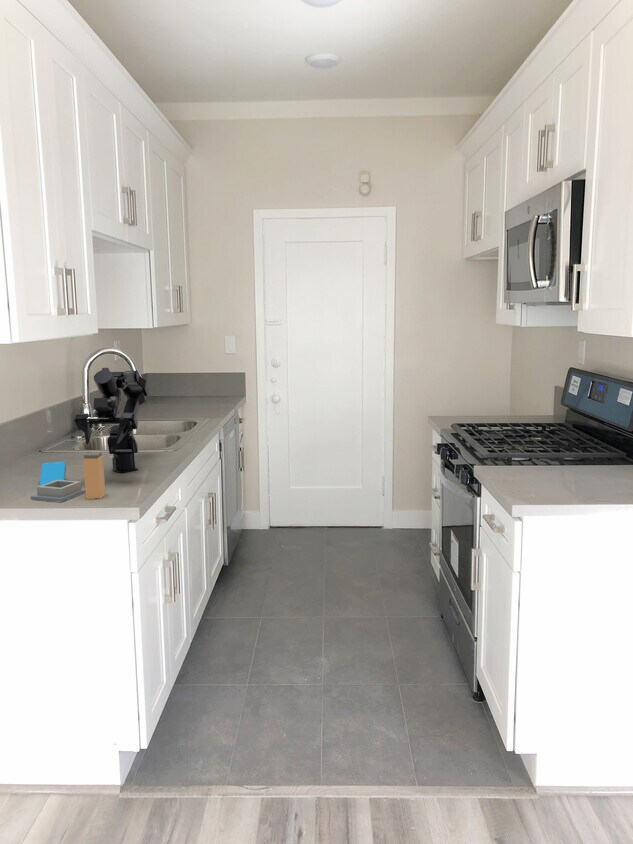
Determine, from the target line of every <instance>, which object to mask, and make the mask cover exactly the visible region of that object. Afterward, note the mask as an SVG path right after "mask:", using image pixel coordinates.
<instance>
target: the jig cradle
mask: <svg viewBox="0 0 633 844" xmlns="http://www.w3.org/2000/svg"><path fill="white" fill-rule="evenodd" d="M84 494H86V491H85V487H82V481H78V480H66V479H65V480H55V481H52V482H49V483H46V484H44V485H41V486H40V485H38V486H36V493H35V494H33V495H30V500H31V499H32V500H31V501H41V500H45V501H44V502H51V501H60V502H59V503H63V502H62V501H64V502H66V501H65V500H67V499H69V500H71V499H70V498H72V499H74V498H76V497H79V496H81V495H84ZM78 495H79V496H78ZM75 496H76V497H75ZM73 497H74V498H73ZM67 501H68V500H67Z"/></svg>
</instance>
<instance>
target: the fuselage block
mask: <svg viewBox="0 0 633 844" xmlns="http://www.w3.org/2000/svg"><path fill="white" fill-rule="evenodd" d="M82 463H83V475H84V488H85V491H86V493H85V499H86V500H87V499H88V500H90V499H91V500H92V499H93V500H96V499H95V498H100V499H103V498H104V496H106V483H105V471H104V456H103V452H102V451H100V452H99V451H98V452H97V451H96V452H95V451H94V452H91V451H90V452H87V453H85V454H83V459H82ZM100 499H99V500H100Z"/></svg>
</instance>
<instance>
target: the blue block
mask: <svg viewBox="0 0 633 844" xmlns="http://www.w3.org/2000/svg"><path fill="white" fill-rule="evenodd" d="M41 466H42V467H41V472H40V473H41V474H40V482H39V483H40V484H39V486H41V485H44V484H46V483H49V482H52V481H55V480H66V475H67V473H66V472H67V465H66V461H55V462H53V461H52V462H43V463H42V465H41Z"/></svg>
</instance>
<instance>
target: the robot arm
mask: <svg viewBox="0 0 633 844" xmlns="http://www.w3.org/2000/svg"><path fill="white" fill-rule="evenodd" d="M93 380H94V382H95V385H96V387H97V390H98V391H99V393H100V394H102V395H101V397H94V398H93V405H92V406H93V407H92V408H93V409H94V410H95V415H96V417H92V416H91V417H90V415H89V413H76V414H75V415H74V418H73V421H74V424H75V425H76V428H77V429H78V430H79V431H81V433H84V440H85V444H86V445H89V443H90V441H91V436H92V432H93V430H92V429H93V425H105V426H106V425H112V426H111V430H110V432H109V436H108V437H107V441H106V442H107V447H108V448H107V449H108V453H109V455H112V456H113V457H112V459H111V460H112V469H111V470H112V471H114V472H117V473H120V474H122V473H127V472H133V471H137V470H138V469H139V468H137V467H136V463H135V462H136V461H135V460H136V459H135V454H137V453H138V452H139V447H138V446H139V445H138V443H137V440H136V438H135V436H134V430H137V429H138V426H139V420H138V419H137V415H138V411H139V409H140V406H141V405H142V404H144V403H145V402H146V401H147V399H148V397H149V396H150V388H149V384H148V382H147V380H145V378H144V377H142V376H141V375H140V373H139V371H137V370H124V371H110V369H109V367H102V368H101V370H99V371H97V372H96V373H95V374H94V375H93ZM121 390H122V391H121ZM122 392H123V394H124V395H123V396H124V397H125V404H124V407H123V410H122V412H121V416H120V417H118V414H120V410H119V408H120V403H121V401H122Z"/></svg>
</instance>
